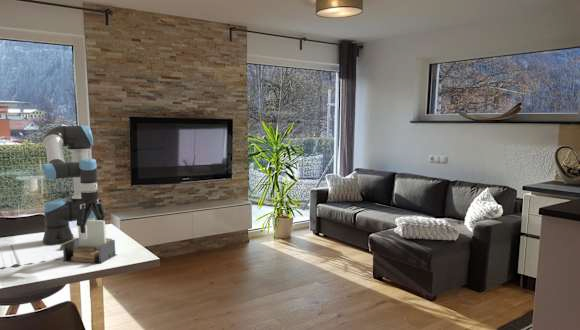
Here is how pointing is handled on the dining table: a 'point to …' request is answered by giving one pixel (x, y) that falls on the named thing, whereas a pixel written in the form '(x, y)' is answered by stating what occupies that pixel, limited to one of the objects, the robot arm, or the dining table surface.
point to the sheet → (93, 234)
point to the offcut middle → (87, 255)
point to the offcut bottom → (84, 259)
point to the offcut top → (84, 249)
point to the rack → (104, 250)
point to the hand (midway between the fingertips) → (92, 235)
